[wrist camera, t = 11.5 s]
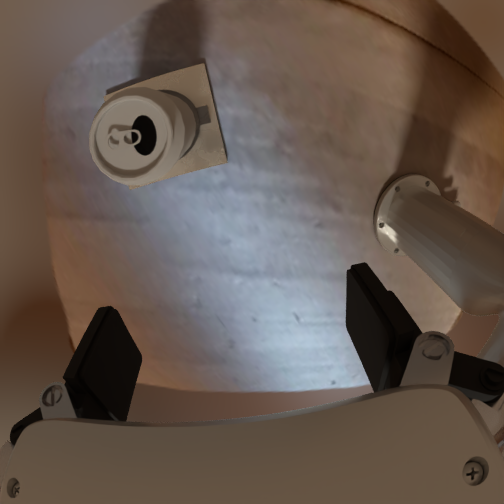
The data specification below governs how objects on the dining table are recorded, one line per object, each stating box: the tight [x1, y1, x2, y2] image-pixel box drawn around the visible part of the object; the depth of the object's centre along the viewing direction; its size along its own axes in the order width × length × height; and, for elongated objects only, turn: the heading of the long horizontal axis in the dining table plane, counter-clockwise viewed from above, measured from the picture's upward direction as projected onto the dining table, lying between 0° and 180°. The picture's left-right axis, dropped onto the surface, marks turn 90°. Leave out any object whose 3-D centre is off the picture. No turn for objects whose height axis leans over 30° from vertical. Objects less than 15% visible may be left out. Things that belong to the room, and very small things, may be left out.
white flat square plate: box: [104, 63, 227, 190], centre depth 28 cm, size 12×12×2 cm
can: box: [89, 87, 196, 185], centre depth 22 cm, size 8×8×12 cm
